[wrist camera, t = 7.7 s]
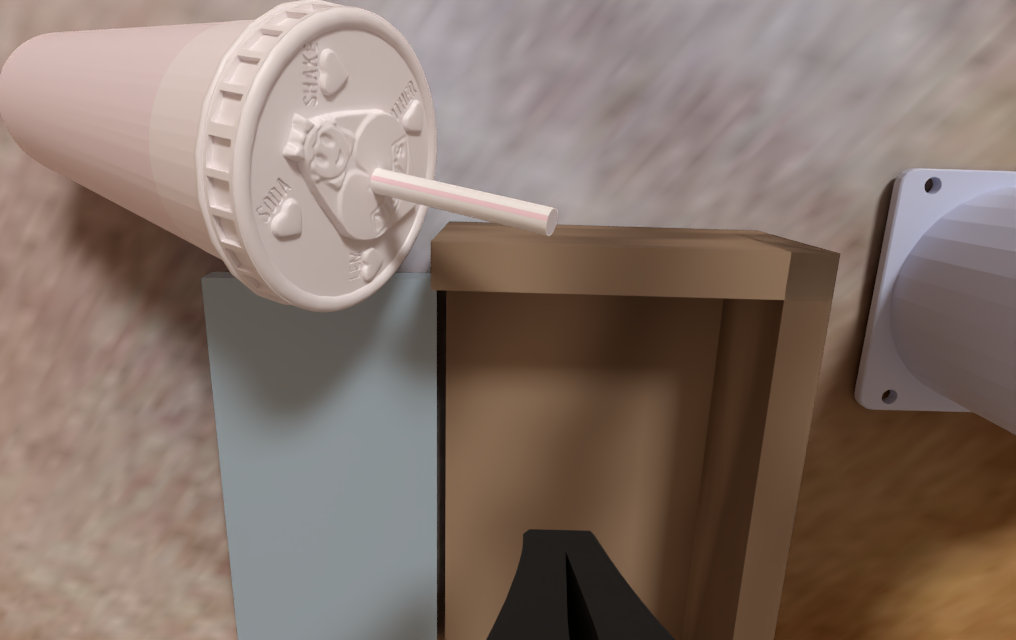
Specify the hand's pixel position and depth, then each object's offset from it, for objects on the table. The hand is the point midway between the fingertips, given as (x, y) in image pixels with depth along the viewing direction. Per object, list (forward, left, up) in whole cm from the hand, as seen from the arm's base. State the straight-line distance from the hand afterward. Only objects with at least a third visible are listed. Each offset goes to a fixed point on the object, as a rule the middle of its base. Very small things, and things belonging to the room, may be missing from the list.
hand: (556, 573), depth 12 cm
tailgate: (+3, +3, -8) cm, 10 cm away
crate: (-2, +3, -9) cm, 10 cm away
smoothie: (+13, -9, -7) cm, 17 cm away
